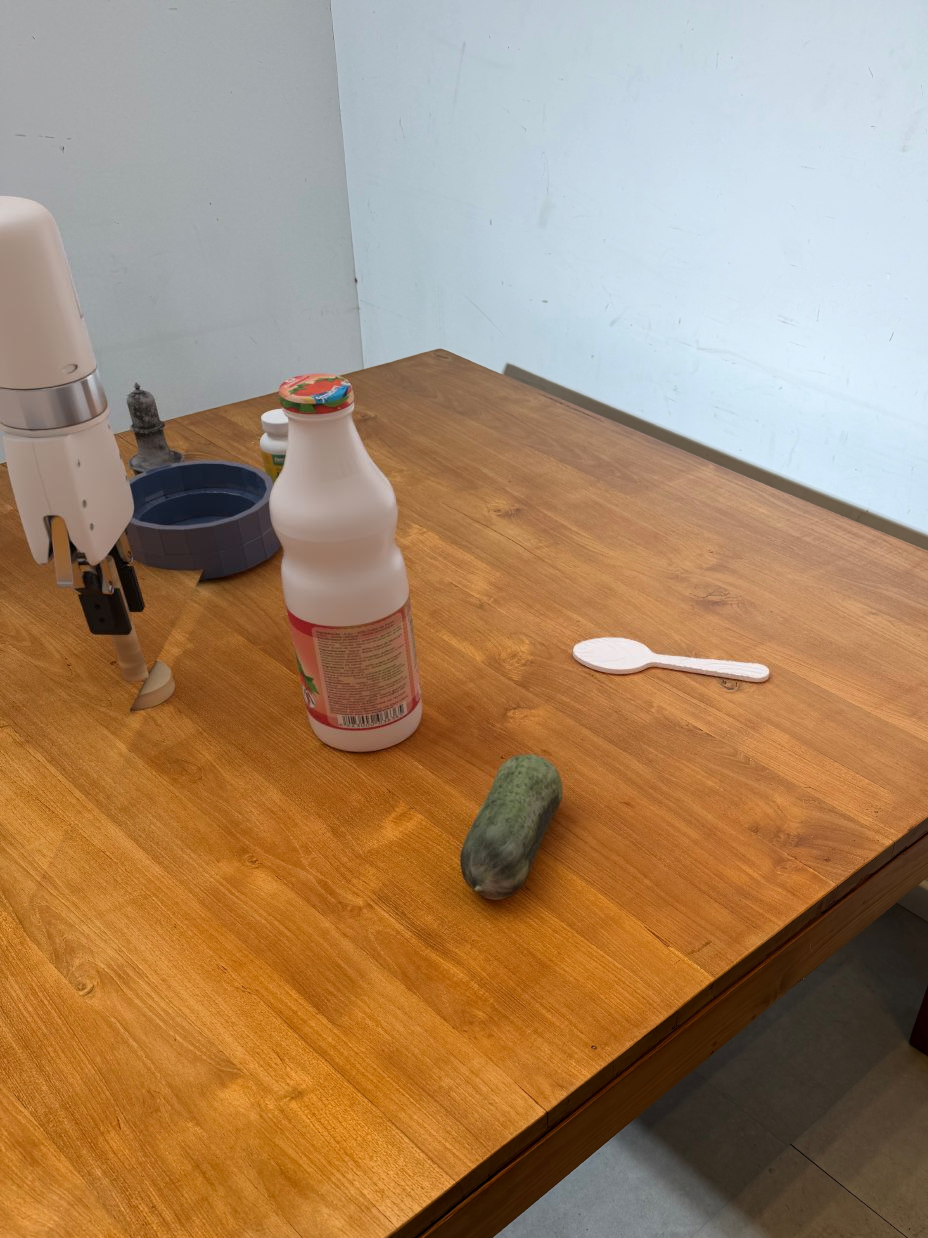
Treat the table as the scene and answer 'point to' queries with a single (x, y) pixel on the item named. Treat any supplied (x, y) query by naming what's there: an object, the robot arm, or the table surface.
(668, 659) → the spoon
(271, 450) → the supplement bottle
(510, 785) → the vegetable
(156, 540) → the bowl
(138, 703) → the wooden masher
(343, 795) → the table surface
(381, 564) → the fruit juice
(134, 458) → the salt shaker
